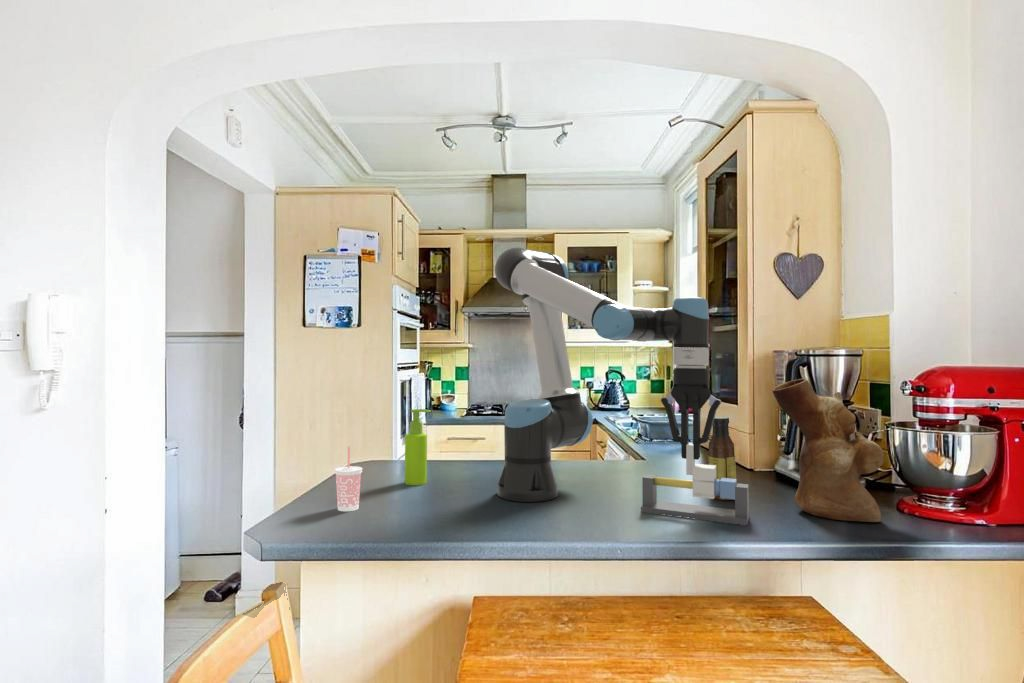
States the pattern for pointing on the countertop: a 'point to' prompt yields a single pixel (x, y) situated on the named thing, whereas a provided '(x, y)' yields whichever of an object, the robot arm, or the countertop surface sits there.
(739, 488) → the twin post rod stand
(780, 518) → the countertop surface
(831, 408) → the ceramic vessel
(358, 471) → the beverage cup
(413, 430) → the soap dispenser
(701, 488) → the sleeve
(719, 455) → the sauce bottle
